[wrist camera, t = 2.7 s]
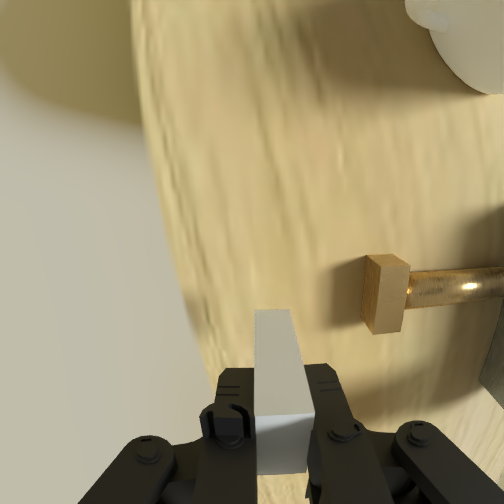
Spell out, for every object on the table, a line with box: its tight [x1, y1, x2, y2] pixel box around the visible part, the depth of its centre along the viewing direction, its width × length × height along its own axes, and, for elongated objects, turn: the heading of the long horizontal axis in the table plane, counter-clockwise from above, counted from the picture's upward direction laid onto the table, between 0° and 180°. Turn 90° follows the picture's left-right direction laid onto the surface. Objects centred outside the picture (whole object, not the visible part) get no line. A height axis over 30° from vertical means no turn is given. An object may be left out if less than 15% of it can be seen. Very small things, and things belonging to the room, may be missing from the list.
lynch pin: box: [361, 254, 504, 335], centre depth 16 cm, size 12×4×2 cm, turn 91°
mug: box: [405, 0, 504, 94], centre depth 8 cm, size 12×8×10 cm
